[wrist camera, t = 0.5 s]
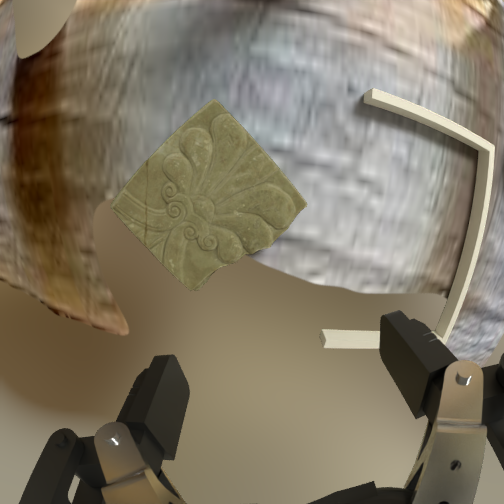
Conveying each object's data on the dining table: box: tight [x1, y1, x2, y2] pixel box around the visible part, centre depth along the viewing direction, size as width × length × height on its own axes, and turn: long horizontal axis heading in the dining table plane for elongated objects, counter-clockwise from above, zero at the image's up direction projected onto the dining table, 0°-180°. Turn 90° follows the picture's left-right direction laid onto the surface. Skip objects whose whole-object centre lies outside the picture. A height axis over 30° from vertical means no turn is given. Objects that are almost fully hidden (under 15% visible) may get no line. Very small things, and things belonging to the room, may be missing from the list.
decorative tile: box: [111, 99, 307, 291], centre depth 34 cm, size 19×20×4 cm
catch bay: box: [320, 88, 495, 349], centre depth 35 cm, size 37×26×3 cm
